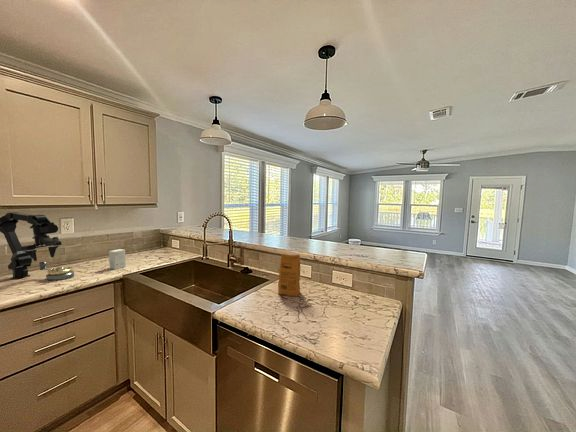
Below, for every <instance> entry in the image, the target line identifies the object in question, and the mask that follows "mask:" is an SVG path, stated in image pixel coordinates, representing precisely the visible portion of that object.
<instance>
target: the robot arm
mask: <svg viewBox="0 0 576 432" xmlns="http://www.w3.org/2000/svg"><path fill="white" fill-rule="evenodd" d="M19 221H23V222H26V223H28V224H30V225H31V226H30V227H29V229H32V232H33V237H32V239H33V240H34V243H33V244H28V245H27V244H26V245H23V246H22V244H21V242H20V240H19V238H18V235H17V232H16V229H17V224H18V223H19ZM58 231H59V227H58V226H57V224H55V223H54V222H51V221H50V219H49V218H48V217H47V216H46V215H45V214H28V213H22V212H21V213H20V212H18V211H16V212H7V213H6V214H5V215H3V216H1V217H0V233H1V234H3V236H4V238H5V240H6V242H7V246H8V247H9V249H10V251H11V254H12V255H11V258H10V261H11V262H9V263H8V265H7V269H8V270H10V271H11V270H12V276H11V277H10V279H11V280H12V279H14V280H17V279H18V280H20V279H23V278H27V277H30V276H31V274H29V269H28V267H31V265H32V262H33V261H34V262H37V261H38V257H37V249H38V248H39V249H40V248H44V247H45V248H47V249H48V252H49V255H50V257H51V258H54V257H55V253H56V250H57V248H59V247H60V246H62V245H63V243H62V241H60V239H59V237H58V236H53V237H50V235H49V234H56V233H57V232H58Z"/></svg>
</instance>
